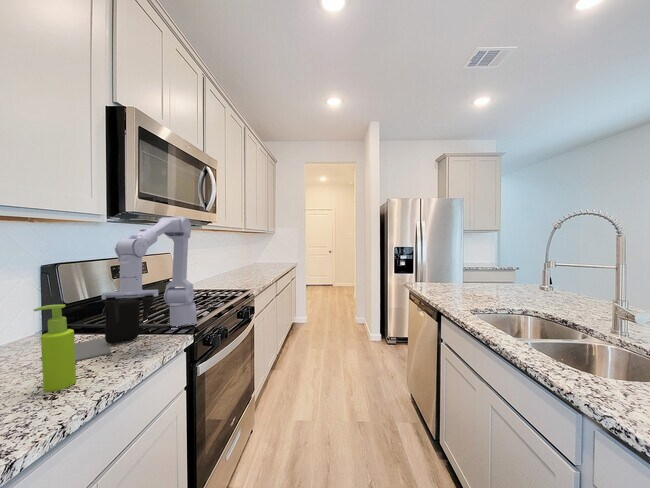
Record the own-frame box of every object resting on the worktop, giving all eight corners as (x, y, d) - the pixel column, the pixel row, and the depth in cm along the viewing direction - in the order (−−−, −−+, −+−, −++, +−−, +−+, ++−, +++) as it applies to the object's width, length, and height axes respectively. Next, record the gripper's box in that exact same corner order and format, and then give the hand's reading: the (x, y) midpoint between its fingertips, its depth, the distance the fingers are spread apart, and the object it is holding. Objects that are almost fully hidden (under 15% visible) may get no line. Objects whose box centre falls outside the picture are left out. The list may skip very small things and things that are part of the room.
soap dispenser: (45, 383, 71) (41, 304, 70) (80, 377, 73) (76, 301, 73) (32, 395, 65) (27, 310, 65) (70, 388, 68) (66, 306, 67)
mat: (108, 337, 102) (108, 336, 102) (110, 353, 88) (110, 352, 88) (55, 348, 93) (55, 347, 93) (48, 367, 79) (48, 366, 79)
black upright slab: (101, 347, 92) (102, 302, 92) (100, 344, 94) (101, 300, 94) (139, 339, 100) (140, 298, 99) (137, 337, 102) (138, 297, 102)
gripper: (97, 279, 81) (96, 326, 81) (154, 277, 86) (154, 321, 86) (107, 277, 88) (106, 321, 87) (159, 275, 93) (159, 316, 92)
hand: (130, 321), depth 87 cm, fingers open, 7 cm apart
